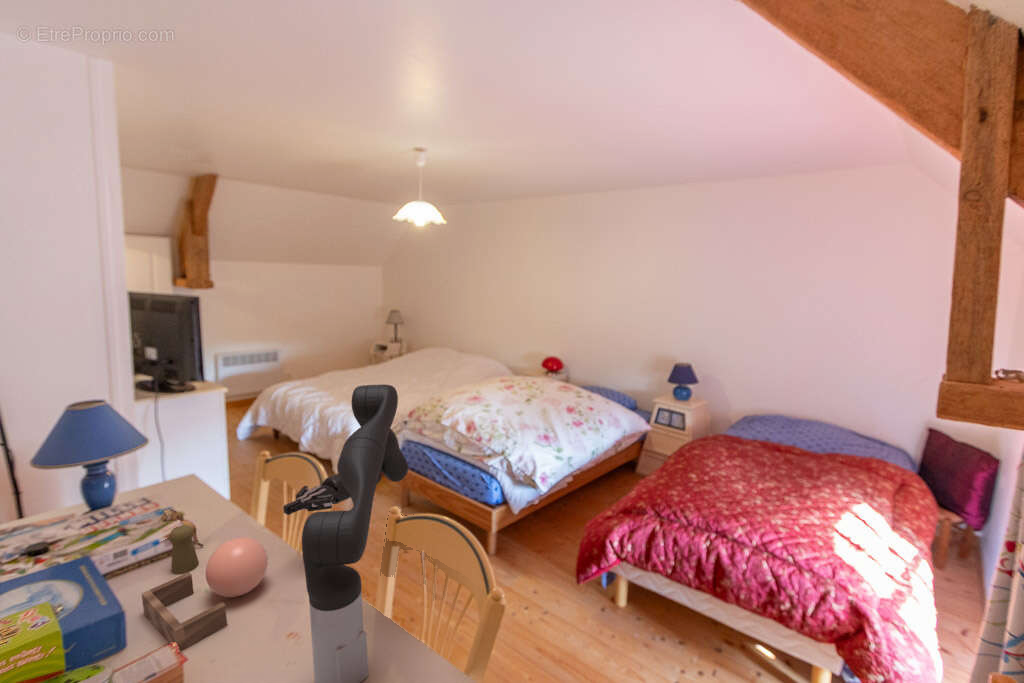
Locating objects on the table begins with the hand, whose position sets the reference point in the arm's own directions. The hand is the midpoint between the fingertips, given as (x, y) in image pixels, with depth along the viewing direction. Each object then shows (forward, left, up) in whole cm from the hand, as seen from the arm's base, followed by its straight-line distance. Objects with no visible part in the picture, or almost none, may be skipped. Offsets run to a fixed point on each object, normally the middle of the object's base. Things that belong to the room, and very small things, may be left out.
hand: (285, 510), depth 121 cm
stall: (+3, +23, -17) cm, 29 cm away
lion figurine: (+37, +11, -17) cm, 43 cm away
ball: (+3, +11, -11) cm, 16 cm away
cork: (+24, +15, -17) cm, 33 cm away
